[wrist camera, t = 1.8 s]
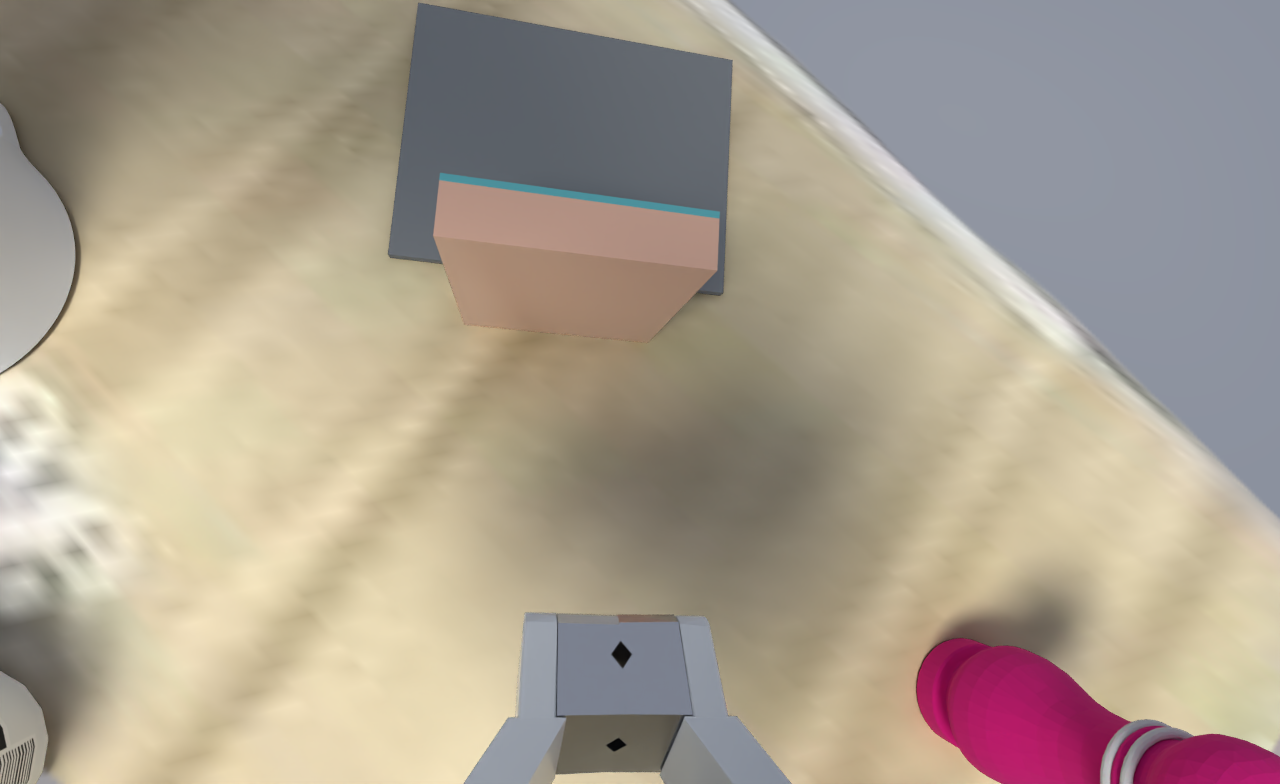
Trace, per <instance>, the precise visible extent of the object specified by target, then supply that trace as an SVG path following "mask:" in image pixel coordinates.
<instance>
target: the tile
mask: <svg viewBox="0 0 1280 784" xmlns="http://www.w3.org/2000/svg"><path fill="white" fill-rule="evenodd" d="M719 219H720V212H719V211H711V210H704V209H697V208H690V207H683V206H675V205H668V204H661V203H654V202H647V201H640V200H632V199H625V198H618V197H611V196H604V195H596V194H589V193H582V192H575V191H568V190H560V189H553V188H546V187H539V186H532V185H524V184H517V183H510V182H503V181H496V180H488V179H481V178H474V177H467V176H460V175H452V174H445V173H440V178H439V187H438V196H437V206H436V215H435V224H434V233H433V237H434V240H435V243H436V245H437V248H438V251H439V254H440V257H441V260H442V262H443V265H444V268H445V271H446V274H447V277H448V280H449V282H450V285H451V288H452V291H453V294H454V297H455V299H456V302H457V305H458V308H459V311H460V314H461V316H462V319H463V322H464V325H473V326H483V327H493V328H503V329H513V330H524V331H534V332H544V333H554V334H564V335H574V336H584V337H594V338H604V339H615V340H625V341H635V342H645V343H648V342H649V341H650V340H651V339H652V338H653V337H654V336H655V335H656V334H657V333H658V332H659V331H660V330H661V329H662V328H663V327H664V326H665V325H666V324H667V323H668V322H669V320H670V319H671V318H672V317H673V316H674V315H675V314H676V313H677V312H678V311H679V310H680V309H681V308H682V307H683V306H684V305H685V304H686V303H687V302H688V301H689V300H690V299H691V298H692V296H693V295H694V294H695V293H696V292H697V291H698V290H699V289H700V288H701V287H702V286H703V285H704V284H705V283H706V282H707V281H708V280H709V279H710V278H711V277H712V276H713V275H714V274H715V272H716V271H717V267H718V243H719Z"/></svg>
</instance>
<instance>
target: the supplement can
mask: <svg viewBox="0 0 1280 784" xmlns="http://www.w3.org/2000/svg"><path fill="white" fill-rule="evenodd" d="M47 745H48V734H47V730H46V725H45V721H44V716H43V712H42V708H41V707H40V706H39V704H38V703H37V702H36V700H35V699H34V698H33V696H32V695H31V694H30V692H29V691H28V689H27V688H26V687H25V685H23V684H22V683H20V682H18V681H17V680H15V679H13V678H11V677H10V676H8V675H6V674H4V673H3V672H1V671H0V784H36V783H37V781H38V779H39V777H40V776H41V774H42V772H43V768H44V762H45V756H46V750H47Z"/></svg>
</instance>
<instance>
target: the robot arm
mask: <svg viewBox="0 0 1280 784" xmlns="http://www.w3.org/2000/svg"><path fill="white" fill-rule="evenodd" d="M74 268H75V241H74V235H73V230H72V226H71V223H70V220H69V217H68V214H67V212H66V210H65V208H64V205H63V203H62V202H61V200H60V198H59V196H58V195H57V193H56V192H55V190H54V189H53V187H52V186H51V185H50V184H49V182H48V181H47V180H46V179H45V178H44V177H43V176H42V175H41V174H40V173H39V171H38V170H37V169H36V168H35V167H34V166H33V165H32V164H31V163H30V162H29V161H28V159H27V158H26V157H25V155H24V154H23V152H22V151H21V149H20V146H19V142H18V139H17V135H16V132H15V129H14V125H13V123H12V120H11V118H10V115H9V113H8V112H7V110H6V109H5V107H4V106H3V105H2V104H1V103H0V373H1V372H2V371H4V370H5V369H7V368H9V367H10V366H12V365H13V364H14V363H16V362H17V361H18V360H20V359H21V358H22V357H23V356H24V355H26V354H27V353H28V352H29V351H30V350H31V349H32V348H33V347H34V346H35V345H36V344H37V343H38V342H39V341H40V340H41V339H42V338H43V336H44V335H45V334H46V333H47V331H48V330H49V329H50V328H51V326H52V325H53V323H54V322H55V320H56V319H57V317H58V315H59V313H60V312H61V310H62V308H63V306H64V303H65V301H66V299H67V296H68V293H69V291H70V287H71V284H72V280H73V275H74ZM595 772H661V773H660V776H661V778H662V780H663V781H664V783H665V784H791V782H790V781H789V780H788V779H787V777H786V776H785V775H784V774H783V772H782V771H781V770H780V769H779V767H778V766H777V765H776V764H775V763H774V761H773V760H772V759H771V758H770V756H769V755H768V754H767V753H766V751H765V750H764V749H763V748H762V747H761V745H760V744H759V743H758V742H757V740H756V739H755V738H754V737H753V735H752V734H751V733H750V732H749V731H748V729H747V728H746V727H745V726H744V724H743V723H742V722H741V721H740V719H739V718H738V717H737V716H728V713H727V708H726V703H725V698H724V693H723V688H722V684H721V679H720V674H719V669H718V664H717V659H716V654H715V649H714V644H713V639H712V634H711V629H710V624H709V622H708V620H707V619H706V617H704V616H674V615H595V614H556V613H526V612H525V614H524V623H523V632H522V641H521V650H520V660H519V670H518V681H517V696H516V711H515V717H510V718H508V719H507V720H506V722H505V723H504V725H503V726H502V727H501V729H500V730H499V732H498V733H497V735H496V736H495V738H494V739H493V741H492V742H491V744H490V745H489V747H488V748H487V750H486V751H485V753H484V754H483V756H482V757H481V759H480V760H479V762H478V763H477V764H476V766H475V767H474V769H473V770H472V772H471V773H470V775H469V776H468V778H467V779H466V781H465V782H464V784H552V782H553V780H554V779H555V774H575V773H595Z"/></svg>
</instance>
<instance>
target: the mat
mask: <svg viewBox="0 0 1280 784" xmlns="http://www.w3.org/2000/svg"><path fill="white" fill-rule="evenodd" d="M732 61H733V60H729V59H723V58H718V57H712V56H707V55H701V54H696V53H690V52H685V51H679V50H674V49H669V48H663V47H658V46H652V45H647V44H641V43H636V42H630V41H625V40H619V39H614V38H609V37H603V36H598V35H592V34H587V33H581V32H576V31H570V30H565V29H559V28H554V27H549V26H543V25H538V24H532V23H527V22H521V21H516V20H510V19H505V18H500V17H494V16H489V15H483V14H478V13H472V12H467V11H461V10H456V9H450V8H445V7H440V6H434V5H429V4H423V3H418V10H417V18H416V26H415V35H414V43H413V51H412V60H411V68H410V76H409V84H408V93H407V101H406V109H405V118H404V126H403V134H402V143H401V151H400V159H399V167H398V176H397V184H396V192H395V201H394V209H393V217H392V226H391V234H390V242H389V250H388V255H389V257H390V258H396V259H405V260H414V261H423V262H431V263H440V264H443V262H442V260H441V257H440V254H439V251H438V248H437V245H436V243H435V240H434V237H433V233H434V224H435V215H436V206H437V196H438V187H439V178H440V173H445V174H452V175H460V176H467V177H474V178H481V179H488V180H496V181H503V182H510V183H517V184H524V185H532V186H539V187H546V188H553V189H560V190H568V191H575V192H582V193H589V194H596V195H604V196H611V197H618V198H625V199H632V200H640V201H647V202H654V203H661V204H668V205H675V206H683V207H690V208H697V209H704V210H711V211H719V212H720V219H719V243H718V267H717V271H716V272H715V274H714V275H713V276H712V277H711V278H710V279H709V280H708V281H707V282H706V283H705V284H704V285H703V286H702V287H701V288H700V289H699V290H698V291H697V292H696V293H702V294H711V295H719V296H720V295H721V294H723V286H724V261H725V236H726V211H727V186H728V161H729V136H730V111H731V86H732Z"/></svg>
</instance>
